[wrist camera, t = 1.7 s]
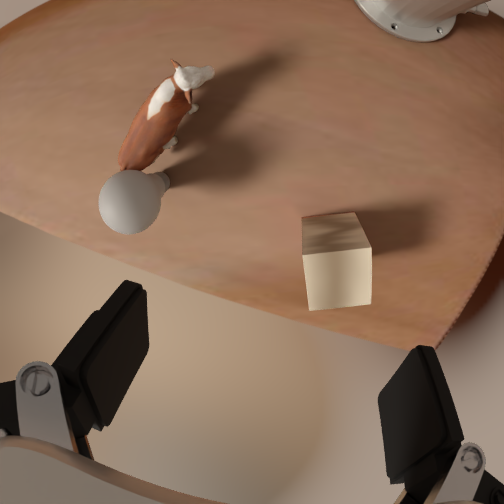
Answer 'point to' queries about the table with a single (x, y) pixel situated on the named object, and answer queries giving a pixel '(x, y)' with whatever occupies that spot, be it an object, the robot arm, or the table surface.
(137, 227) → the lightbulb
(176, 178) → the table surface
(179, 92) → the bull figurine
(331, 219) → the birch block
